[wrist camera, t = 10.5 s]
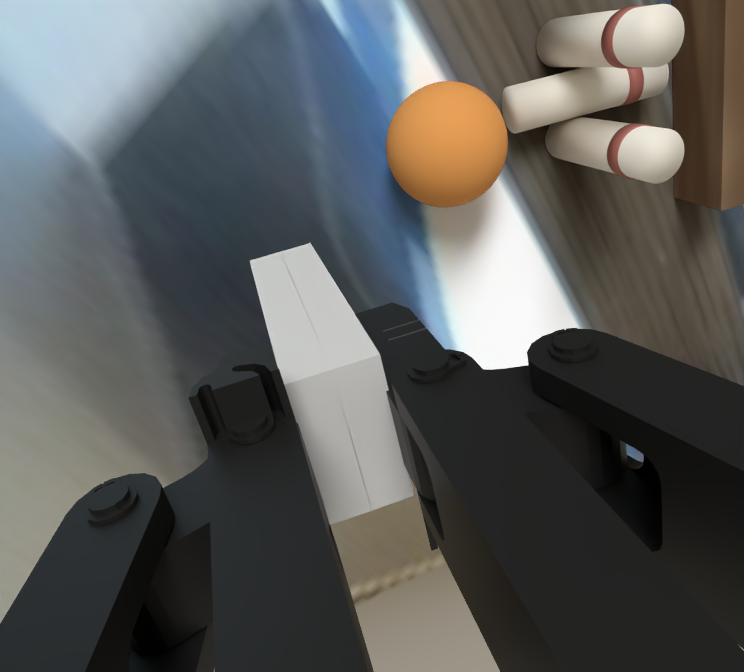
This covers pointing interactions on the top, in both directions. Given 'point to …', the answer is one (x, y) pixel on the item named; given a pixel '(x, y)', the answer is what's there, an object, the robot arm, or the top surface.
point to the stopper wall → (710, 103)
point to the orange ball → (446, 144)
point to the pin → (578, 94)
